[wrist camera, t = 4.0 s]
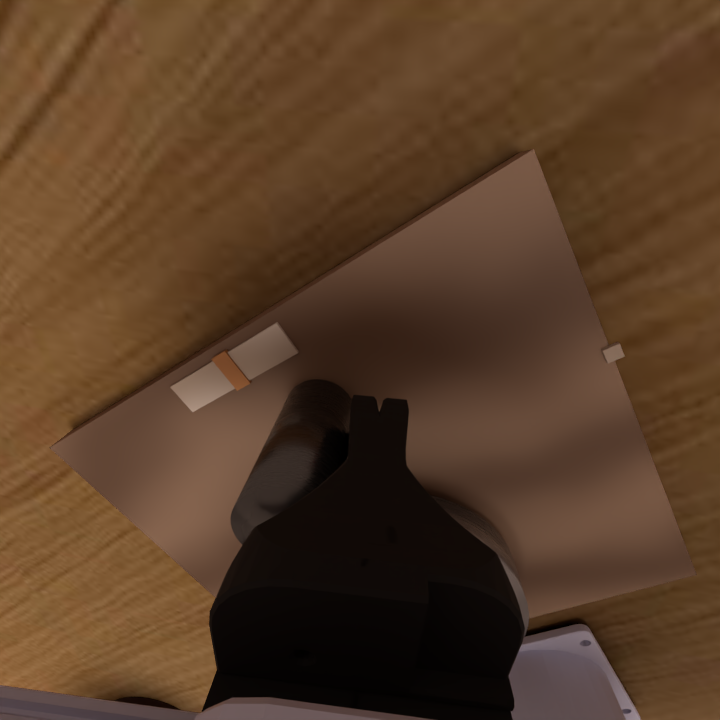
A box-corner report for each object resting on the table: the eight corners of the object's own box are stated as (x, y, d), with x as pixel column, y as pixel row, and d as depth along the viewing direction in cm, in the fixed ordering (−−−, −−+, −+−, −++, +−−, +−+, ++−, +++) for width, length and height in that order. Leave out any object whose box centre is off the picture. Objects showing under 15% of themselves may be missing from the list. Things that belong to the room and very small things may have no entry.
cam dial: (532, 631, 17) (581, 788, 13) (331, 654, 19) (313, 797, 15) (454, 338, 12) (494, 436, 7) (181, 416, 14) (77, 530, 9)
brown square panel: (683, 547, 16) (706, 577, 15) (307, 652, 22) (302, 680, 21) (528, 147, 11) (546, 142, 9) (72, 430, 16) (45, 450, 15)
